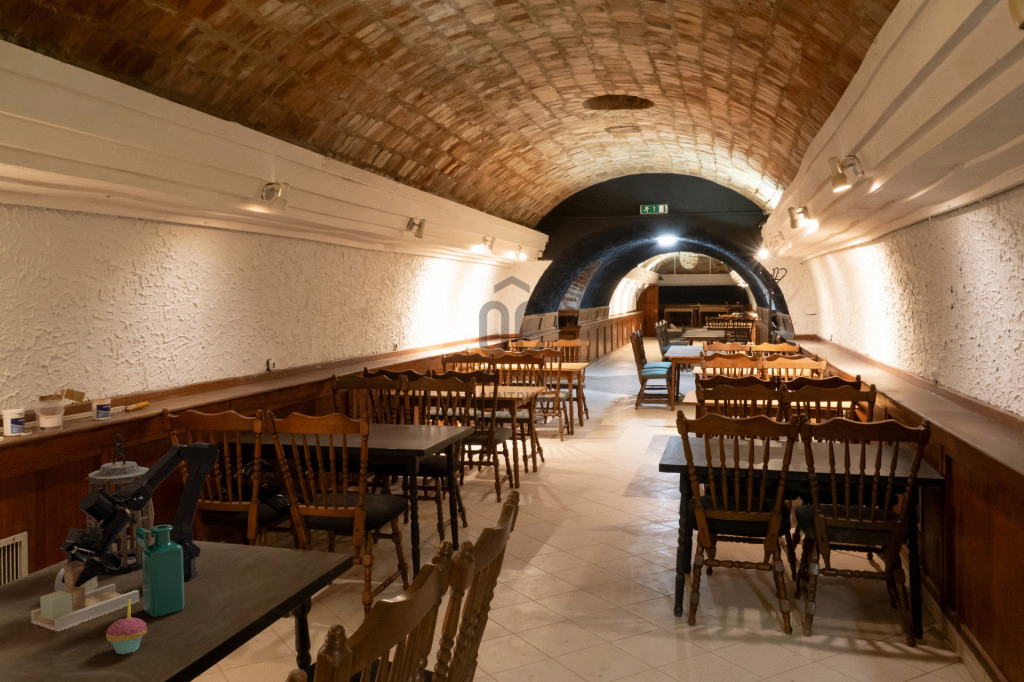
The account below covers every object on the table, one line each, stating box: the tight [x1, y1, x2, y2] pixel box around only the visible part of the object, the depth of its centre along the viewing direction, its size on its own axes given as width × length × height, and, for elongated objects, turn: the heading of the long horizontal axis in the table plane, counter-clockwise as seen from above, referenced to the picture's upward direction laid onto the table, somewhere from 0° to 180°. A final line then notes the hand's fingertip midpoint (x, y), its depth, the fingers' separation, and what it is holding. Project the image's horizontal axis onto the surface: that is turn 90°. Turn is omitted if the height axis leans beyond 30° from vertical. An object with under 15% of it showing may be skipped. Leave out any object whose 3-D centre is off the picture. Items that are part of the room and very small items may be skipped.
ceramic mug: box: [54, 567, 99, 593], centre depth 220 cm, size 11×8×8 cm
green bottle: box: [135, 524, 185, 618], centre depth 207 cm, size 10×8×22 cm
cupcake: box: [105, 595, 148, 655], centre depth 185 cm, size 9×8×12 cm
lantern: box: [81, 433, 155, 576], centre depth 242 cm, size 19×19×40 cm
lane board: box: [30, 583, 140, 633], centre depth 207 cm, size 22×11×3 cm, turn 150°
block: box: [39, 590, 73, 620], centre depth 200 cm, size 5×5×5 cm
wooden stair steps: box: [37, 561, 119, 625], centre depth 205 cm, size 18×8×13 cm, turn 150°
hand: (69, 584), depth 203 cm, fingers open, 5 cm apart
